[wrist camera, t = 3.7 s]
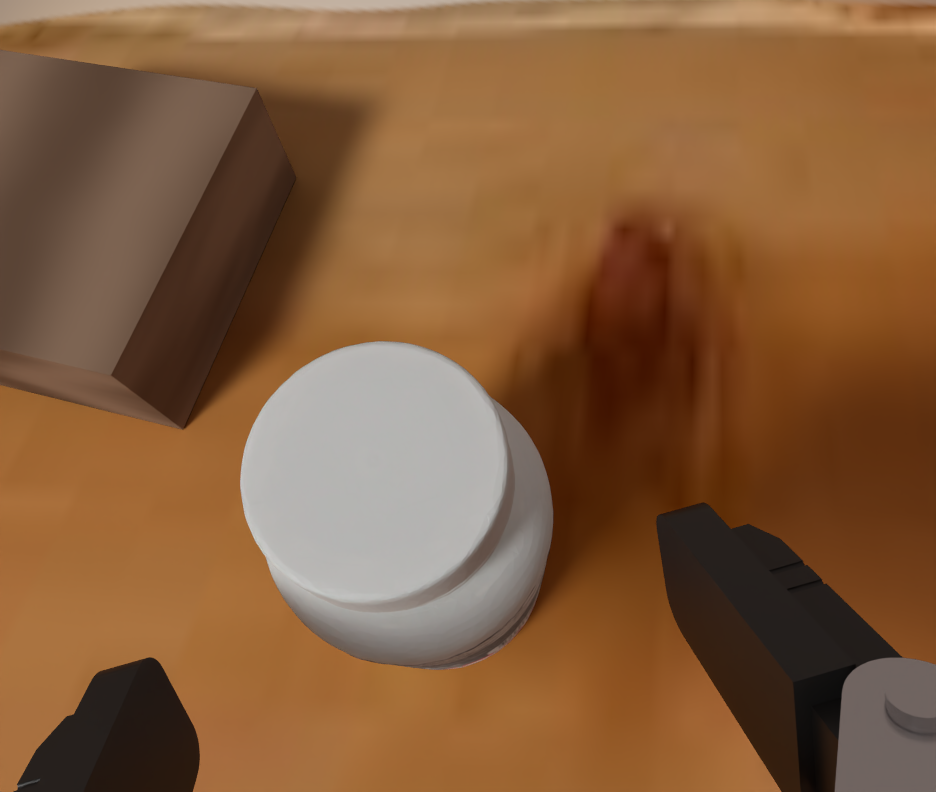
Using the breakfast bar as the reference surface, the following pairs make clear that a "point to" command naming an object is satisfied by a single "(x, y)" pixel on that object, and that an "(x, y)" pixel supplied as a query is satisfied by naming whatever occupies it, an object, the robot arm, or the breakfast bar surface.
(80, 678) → the breakfast bar surface
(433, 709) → the breakfast bar surface
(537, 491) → the pill bottle
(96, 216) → the walnut base
